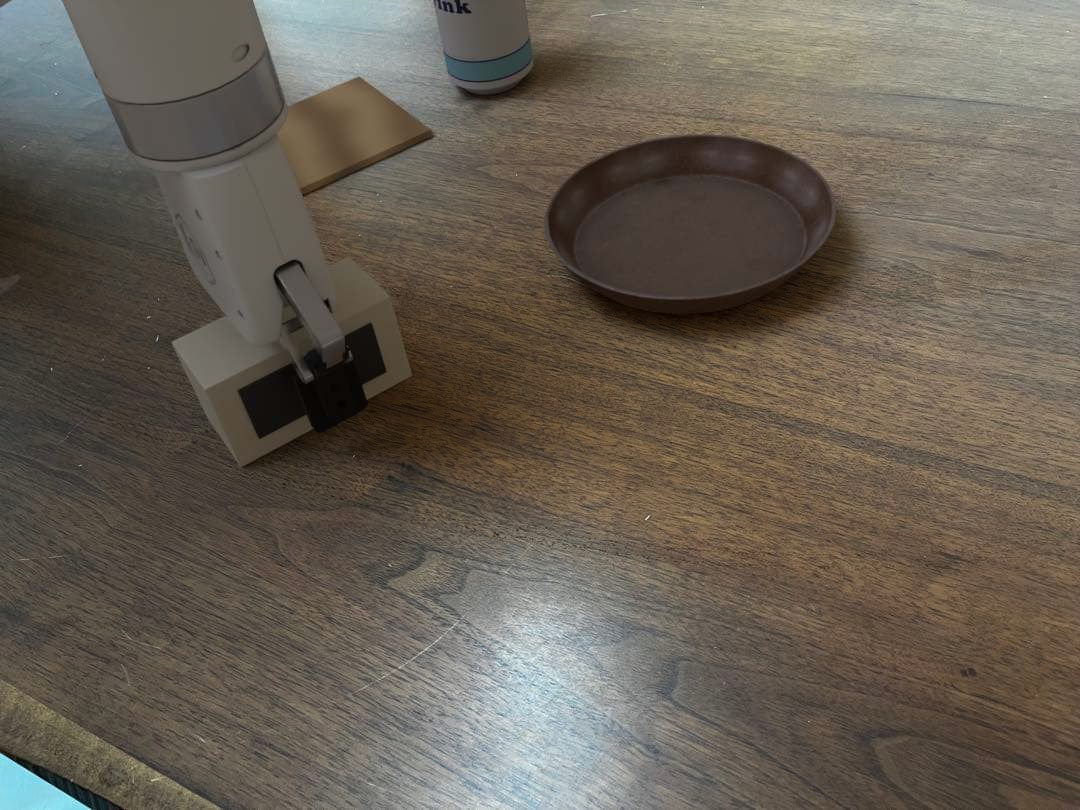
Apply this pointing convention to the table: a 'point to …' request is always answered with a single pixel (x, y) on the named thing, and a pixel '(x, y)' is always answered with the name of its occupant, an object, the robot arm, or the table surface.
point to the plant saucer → (690, 222)
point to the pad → (345, 132)
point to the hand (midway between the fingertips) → (303, 372)
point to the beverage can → (485, 43)
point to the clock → (288, 366)
